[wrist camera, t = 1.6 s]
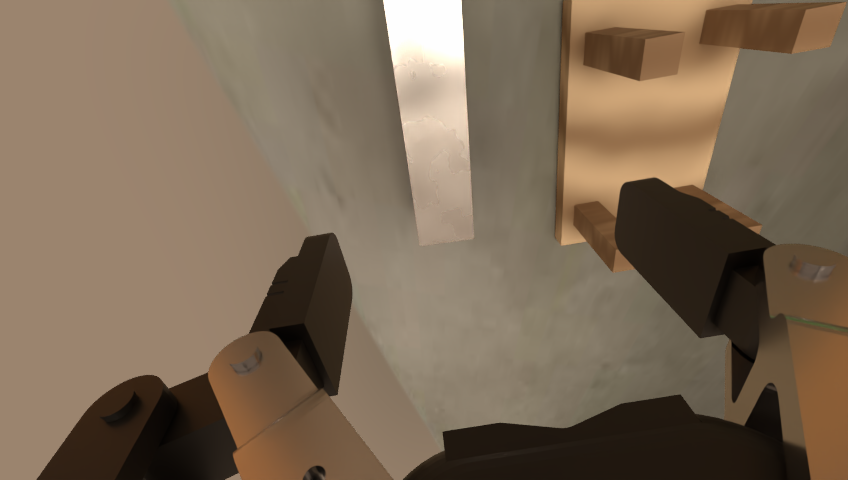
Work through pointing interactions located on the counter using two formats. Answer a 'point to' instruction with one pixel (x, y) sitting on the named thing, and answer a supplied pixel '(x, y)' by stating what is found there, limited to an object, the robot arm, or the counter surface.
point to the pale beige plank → (433, 114)
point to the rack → (656, 97)
